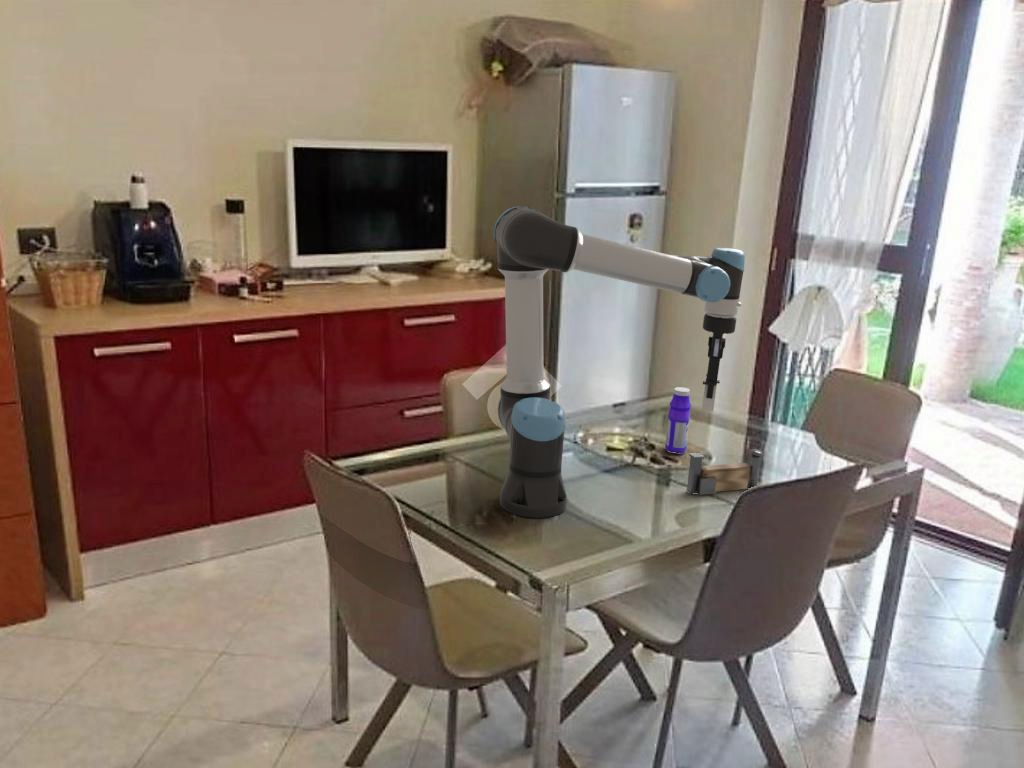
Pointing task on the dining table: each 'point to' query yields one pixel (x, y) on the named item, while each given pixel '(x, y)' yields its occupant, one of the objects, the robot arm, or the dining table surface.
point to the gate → (728, 475)
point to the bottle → (678, 421)
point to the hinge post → (754, 467)
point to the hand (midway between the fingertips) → (707, 409)
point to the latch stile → (695, 481)
